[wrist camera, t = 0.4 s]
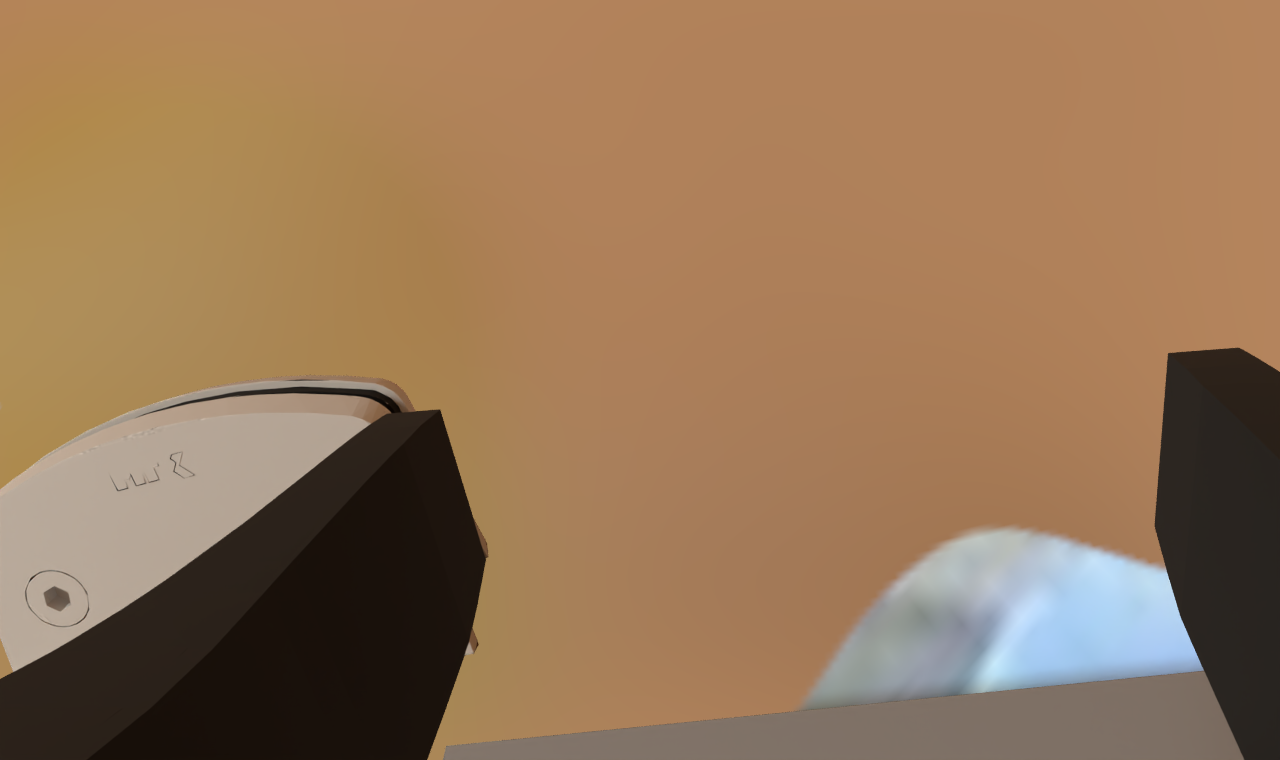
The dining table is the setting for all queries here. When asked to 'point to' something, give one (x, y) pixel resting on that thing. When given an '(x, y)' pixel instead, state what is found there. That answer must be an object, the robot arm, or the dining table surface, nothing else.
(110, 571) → the tan half-round piece
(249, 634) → the robot arm
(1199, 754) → the board
